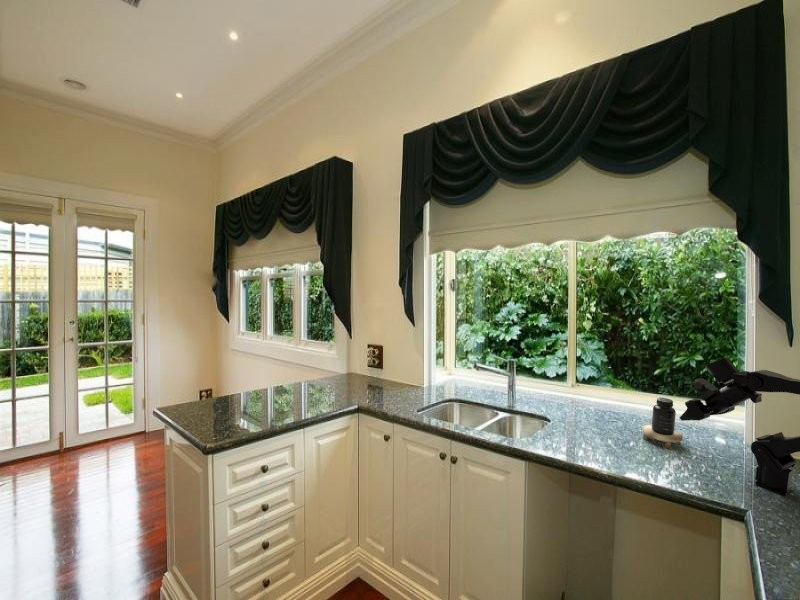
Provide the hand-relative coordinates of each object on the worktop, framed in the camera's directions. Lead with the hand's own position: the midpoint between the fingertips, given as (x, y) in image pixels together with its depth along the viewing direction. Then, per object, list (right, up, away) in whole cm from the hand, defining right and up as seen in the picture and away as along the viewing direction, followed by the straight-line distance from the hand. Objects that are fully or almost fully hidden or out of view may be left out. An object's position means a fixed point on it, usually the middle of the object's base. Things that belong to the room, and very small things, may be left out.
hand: (688, 417), depth 130 cm
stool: (-3, -11, +8) cm, 14 cm away
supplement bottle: (-3, -8, +8) cm, 12 cm away
